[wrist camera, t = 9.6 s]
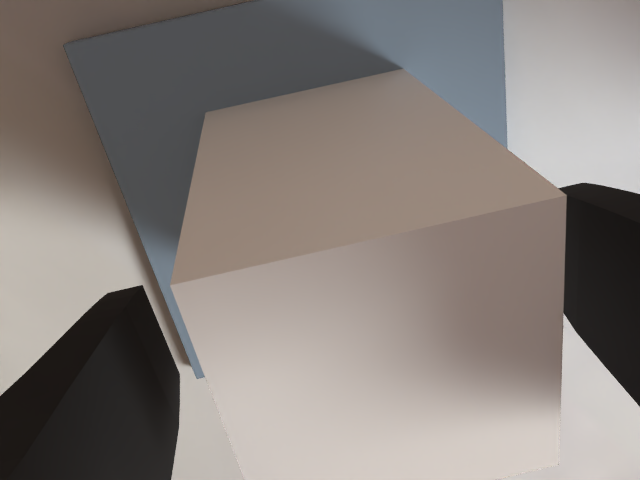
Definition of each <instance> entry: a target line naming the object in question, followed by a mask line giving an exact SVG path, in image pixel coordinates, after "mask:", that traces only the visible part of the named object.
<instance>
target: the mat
mask: <svg viewBox="0 0 640 480" xmlns="http://www.w3.org/2000/svg"><path fill="white" fill-rule="evenodd" d="M63 47H64V49H65V52H66V54H67V57H68V59H69V62H70V64H71V67H72V69H73V72H74V74H75V77H76V79H77V82H78V84H79V87H80V89H81V92H82V94H83V97H84V99H85V102H86V104H87V107H88V109H89V112H90V114H91V117H92V119H93V122H94V124H95V126H96V129H97V131H98V134H99V136H100V139H101V141H102V144H103V146H104V149H105V151H106V154H107V156H108V159H109V161H110V164H111V166H112V169H113V171H114V174H115V176H116V179H117V181H118V184H119V186H120V189H121V191H122V194H123V196H124V199H125V201H126V204H127V206H128V209H129V211H130V214H131V216H132V219H133V221H134V224H135V226H136V229H137V231H138V234H139V236H140V239H141V241H142V244H143V246H144V249H145V251H146V254H147V256H148V259H149V261H150V264H151V266H152V269H153V271H154V274H155V276H156V279H157V281H158V284H159V286H160V289H161V291H162V294H163V296H164V299H165V301H166V304H167V306H168V309H169V311H170V314H171V316H172V319H173V321H174V324H175V326H176V329H177V331H178V333H179V336H180V338H181V341H182V343H183V346H184V348H185V351H186V353H187V356H188V358H189V361H190V363H191V366H192V368H193V371H194V373H195V376H196V378H197V379H199V378H203V377H205V376H204V373H203V371H202V368H201V365H200V363H199V360H198V358H197V355H196V352H195V350H194V347H193V344H192V342H191V339H190V337H189V334H188V331H187V329H186V326H185V323H184V321H183V318H182V316H181V313H180V310H179V308H178V305H177V303H176V300H175V297H174V295H173V292H172V289H171V287H170V283H171V278H172V273H173V268H174V263H175V259H176V254H177V249H178V244H179V239H180V234H181V229H182V225H183V220H184V215H185V210H186V205H187V200H188V195H189V191H190V186H191V181H192V176H193V171H194V166H195V162H196V157H197V152H198V147H199V142H200V137H201V132H202V128H203V123H204V118H205V113H206V112H210V111H214V110H219V109H223V108H228V107H232V106H237V105H241V104H246V103H250V102H255V101H259V100H264V99H268V98H273V97H277V96H282V95H286V94H291V93H295V92H300V91H305V90H309V89H314V88H318V87H323V86H327V85H332V84H336V83H341V82H345V81H350V80H354V79H359V78H363V77H368V76H372V75H377V74H381V73H386V72H390V71H395V70H399V69H405V70H406V71H407V72H408V73H410V74H411V75H412V76H414V77H415V78H416V79H417V80H419V81H420V82H421V83H423V84H424V85H425V86H426V87H428V88H429V89H430V90H432V91H433V92H434V93H436V94H437V95H438V96H439V97H441V98H442V99H443V100H445V101H446V102H447V103H448V104H450V105H451V106H452V107H454V108H455V109H456V110H457V111H459V112H460V113H461V114H463V115H464V116H465V117H466V118H468V119H469V120H470V121H472V122H473V123H474V124H476V125H477V126H478V127H479V128H481V129H482V130H483V131H485V132H486V133H487V134H488V135H490V136H491V137H492V138H494V139H495V140H496V141H497V142H499V143H500V144H501V145H503V146H504V147H505V148H506V149H507V122H506V92H505V62H504V33H503V3H502V0H254V1H249V2H245V3H240V4H236V5H232V6H227V7H223V8H218V9H214V10H209V11H205V12H200V13H196V14H192V15H187V16H183V17H178V18H174V19H169V20H165V21H160V22H156V23H152V24H147V25H143V26H138V27H134V28H129V29H125V30H120V31H116V32H112V33H107V34H103V35H98V36H94V37H89V38H85V39H80V40H76V41H71V42H68V43H66V44H64V45H63Z"/></svg>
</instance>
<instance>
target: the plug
mask: <svg viewBox="0 0 640 480" xmlns="http://www.w3.org/2000/svg"><path fill="white" fill-rule="evenodd" d="M566 203H567V195H566V194H565V193H563V192H562V191H561V190H559V189H558V188H557V187H555V186H554V185H553V184H552V183H550V182H549V181H548V180H546V179H545V178H544V177H543V176H541V175H540V174H539V173H537V172H536V171H535V170H534V169H532V168H531V167H530V166H528V165H527V164H526V163H525V162H523V161H522V160H521V159H519V158H518V157H517V156H515V155H514V154H513V153H512V152H510V151H509V150H508V149H506V148H505V147H504V146H503V145H501V144H500V143H499V142H497V141H496V140H495V139H494V138H492V137H491V136H490V135H488V134H487V133H486V132H485V131H483V130H482V129H481V128H479V127H478V126H477V125H476V124H474V123H473V122H472V121H470V120H469V119H468V118H466V117H465V116H464V115H463V114H461V113H460V112H459V111H457V110H456V109H455V108H454V107H452V106H451V105H450V104H448V103H447V102H446V101H445V100H443V99H442V98H441V97H439V96H438V95H437V94H436V93H434V92H433V91H432V90H430V89H429V88H428V87H426V86H425V85H424V84H423V83H421V82H420V81H419V80H417V79H416V78H415V77H414V76H412V75H411V74H410V73H408V72H407V71H406V70H405V69H399V70H395V71H390V72H386V73H381V74H377V75H372V76H368V77H363V78H359V79H354V80H350V81H345V82H341V83H336V84H332V85H327V86H323V87H318V88H314V89H309V90H305V91H300V92H295V93H291V94H286V95H282V96H277V97H273V98H268V99H264V100H259V101H255V102H250V103H246V104H241V105H237V106H232V107H228V108H223V109H219V110H214V111H210V112H206V113H205V118H204V123H203V128H202V132H201V137H200V142H199V147H198V152H197V157H196V162H195V166H194V171H193V176H192V181H191V186H190V191H189V195H188V200H187V205H186V210H185V215H184V220H183V225H182V229H181V234H180V239H179V244H178V249H177V254H176V259H175V263H174V268H173V273H172V278H171V283H170V287H171V289H172V292H173V295H174V297H175V300H176V303H177V305H178V308H179V310H180V313H181V316H182V318H183V321H184V323H185V326H186V329H187V331H188V334H189V337H190V339H191V342H192V344H193V347H194V350H195V352H196V355H197V358H198V360H199V363H200V365H201V368H202V371H203V373H204V376H205V379H206V381H207V384H208V386H209V389H210V392H211V394H212V397H213V400H214V402H215V405H216V407H217V410H218V413H219V415H220V418H221V421H222V423H223V426H224V428H225V431H226V434H227V436H228V439H229V442H230V444H231V447H232V449H233V452H234V455H235V457H236V460H237V463H238V465H239V468H240V470H241V473H242V476H243V478H244V480H497V479H502V478H506V477H510V476H514V475H519V474H523V473H527V472H531V471H535V470H540V469H544V468H548V467H552V466H556V465H559V449H560V414H561V379H562V344H563V308H564V273H565V238H566Z"/></svg>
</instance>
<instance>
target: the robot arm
mask: <svg viewBox="0 0 640 480" xmlns="http://www.w3.org/2000/svg"><path fill="white" fill-rule="evenodd" d="M558 189H559V190H561V191H562V192H563V193H565V194H566V195H567V203H566V238H565V273H564V308H563V313H564V314H565V316H566V317H567V319H568V320H569V322H570V323H571V325H572V326H573V328H574V329H575V331H576V332H577V333H578V335H579V336H580V337H581V338H582V340H583V341H584V342H585V343H586V344H587V346H588V347H589V348H590V349H591V350H592V351H593V353H594V354H595V355H596V356H597V357H598V359H599V360H600V361H601V362H602V363H603V364H604V366H605V367H606V368H607V369H608V370H609V371H610V373H611V374H612V375H613V376H614V377H615V378H616V380H617V381H618V382H619V383H620V384H621V385H622V386H623V388H624V389H625V390H626V391H627V392H628V393H629V395H630V396H631V397H632V398H633V399H634V400H635V402H636V403H637V404H638V405H639V406H640V194H637V193H633V192H629V191H624V190H620V189H616V188H611V187H606V186H601V185H596V184H589V183H579V184H575V185H571V186H567V187H562V188H558ZM179 408H180V374H179V371H178V369H177V367H176V364H175V362H174V359H173V357H172V355H171V352H170V350H169V347H168V345H167V343H166V340H165V338H164V335H163V333H162V331H161V328H160V326H159V323H158V321H157V319H156V316H155V314H154V312H153V309H152V307H151V304H150V302H149V300H148V297H147V295H146V292H145V290H144V288H143V285H141V286H136V287H132V288H128V289H124V290H119V291H115V292H111V293H107V294H106V295H105V296H104V297H102V298H101V299H100V300H99V301H98V302H97V303H95V304H94V305H93V306H92V307H91V308H90V309H89V310H88V311H87V312H86V313H85V314H84V315H83V316H82V317H81V318H80V319H79V320H78V321H77V322H76V323H75V324H74V325H73V326H72V327H71V328H70V329H69V330H68V331H67V332H66V333H65V334H64V335H63V336H62V337H61V338H60V339H59V340H58V341H57V342H56V343H55V344H54V345H53V346H52V347H51V348H50V349H49V350H48V351H47V352H46V353H45V354H44V355H43V356H42V357H41V358H40V359H39V360H38V361H37V362H36V363H35V364H34V365H33V366H32V367H31V368H30V369H29V370H28V371H27V372H26V373H25V374H24V375H23V376H21V377H20V378H19V379H18V380H17V381H16V382H15V383H14V384H13V385H12V386H11V387H10V388H9V389H7V390H6V391H5V392H4V393H3V394H2V395H1V396H0V480H171V476H172V470H173V463H174V456H175V450H176V443H177V436H178V429H179Z"/></svg>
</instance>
